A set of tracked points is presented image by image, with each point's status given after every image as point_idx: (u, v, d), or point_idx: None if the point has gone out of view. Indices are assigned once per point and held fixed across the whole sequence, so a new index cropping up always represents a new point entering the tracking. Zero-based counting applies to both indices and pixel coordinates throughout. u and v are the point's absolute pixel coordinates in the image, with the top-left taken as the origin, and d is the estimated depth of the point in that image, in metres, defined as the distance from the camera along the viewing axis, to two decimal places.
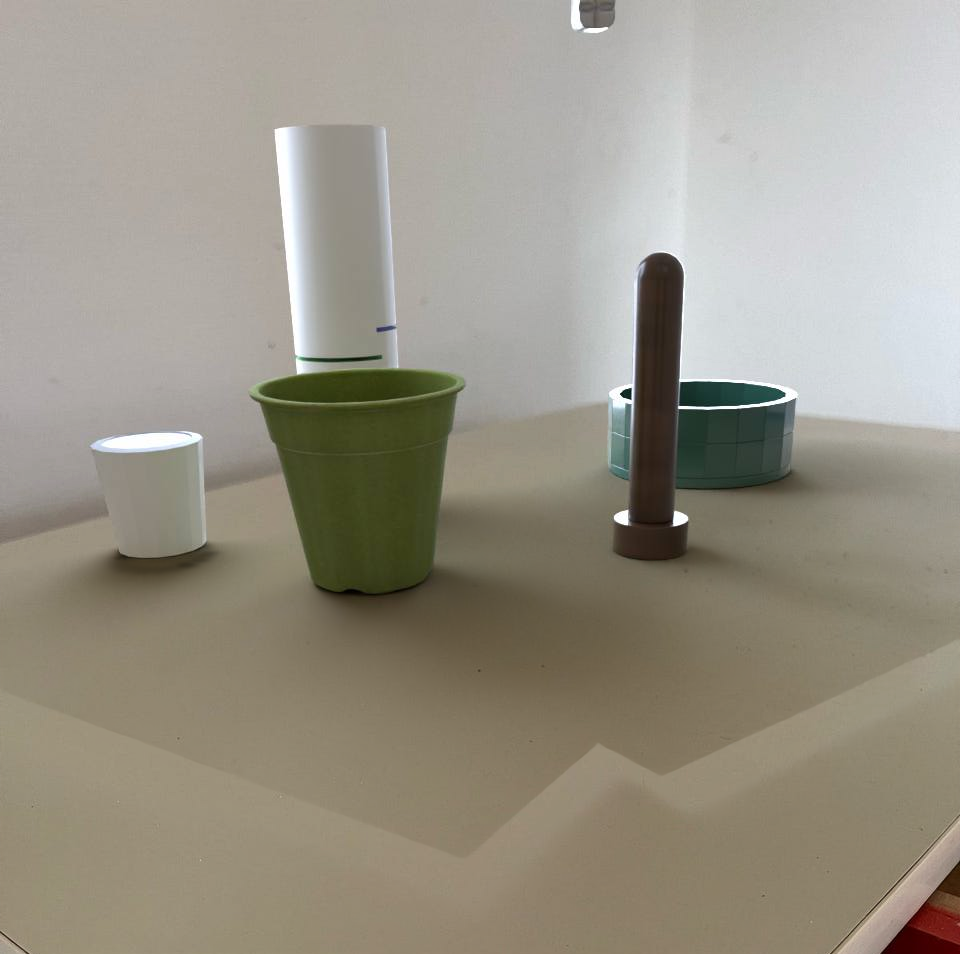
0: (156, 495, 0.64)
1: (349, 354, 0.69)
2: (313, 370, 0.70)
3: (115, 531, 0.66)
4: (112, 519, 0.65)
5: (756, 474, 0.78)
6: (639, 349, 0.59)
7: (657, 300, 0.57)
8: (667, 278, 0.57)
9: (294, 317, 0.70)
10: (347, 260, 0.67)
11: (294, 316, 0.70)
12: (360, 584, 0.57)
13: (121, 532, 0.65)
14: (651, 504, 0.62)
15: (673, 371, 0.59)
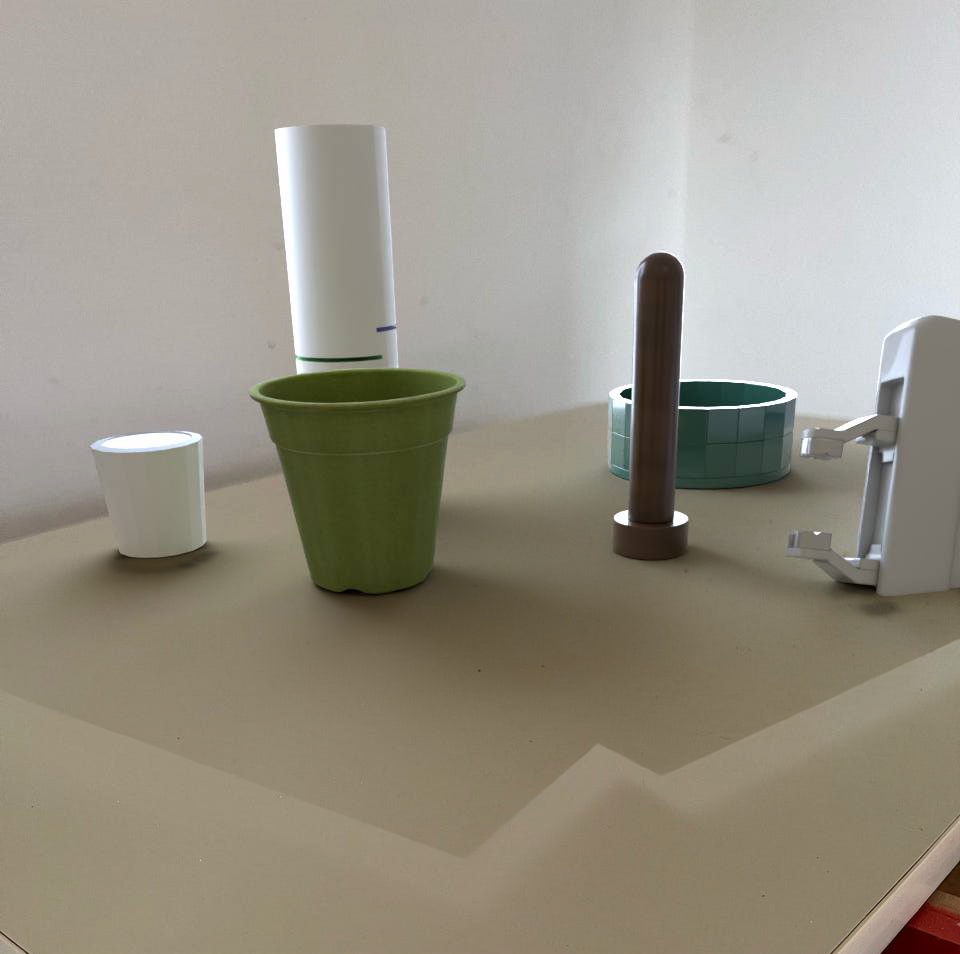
0: (156, 494, 0.64)
1: (349, 354, 0.69)
2: (313, 370, 0.70)
3: (115, 531, 0.66)
4: (112, 519, 0.65)
5: (756, 474, 0.78)
6: (639, 349, 0.59)
7: (657, 300, 0.57)
8: (667, 278, 0.57)
9: (294, 317, 0.70)
10: (347, 260, 0.67)
11: (294, 316, 0.70)
12: (360, 584, 0.57)
13: (121, 532, 0.65)
14: (651, 504, 0.62)
15: (673, 371, 0.59)
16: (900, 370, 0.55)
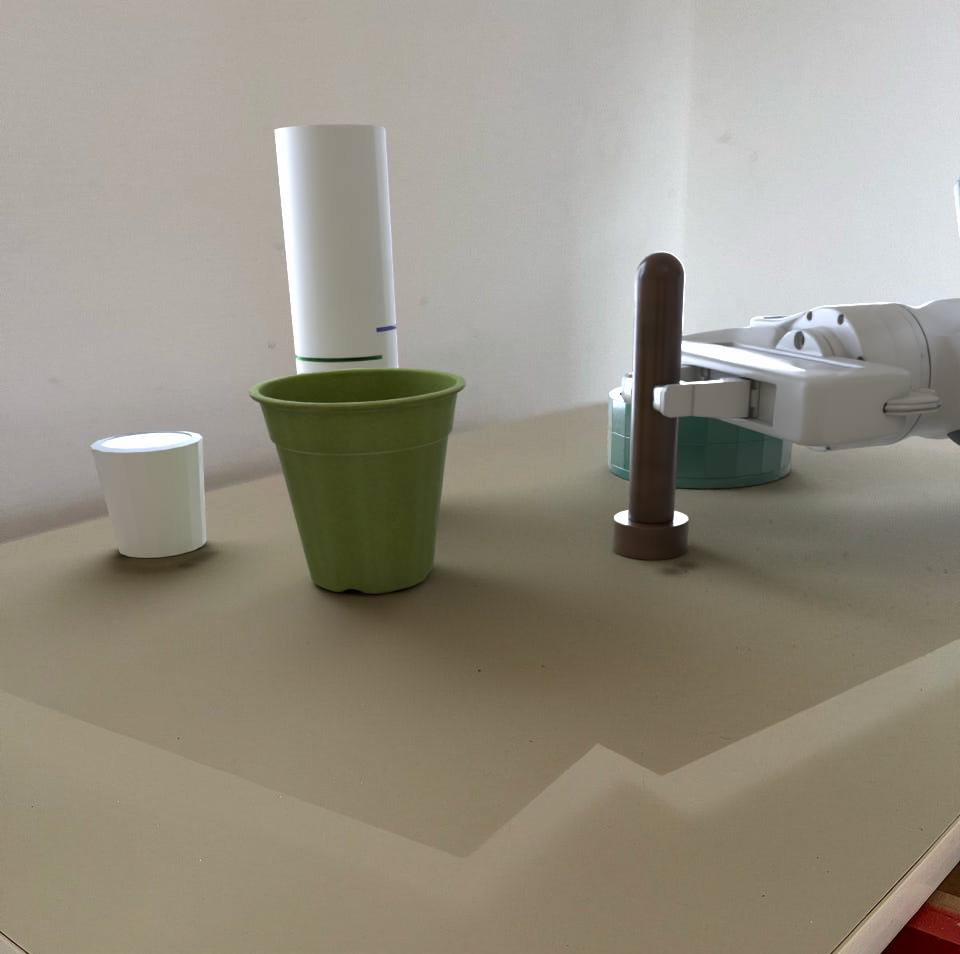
0: (156, 494, 0.64)
1: (349, 354, 0.69)
2: (313, 370, 0.70)
3: (115, 531, 0.66)
4: (112, 519, 0.65)
5: (756, 474, 0.78)
6: (639, 349, 0.59)
7: (657, 300, 0.57)
8: (667, 278, 0.57)
9: (294, 317, 0.70)
10: (347, 260, 0.67)
11: (294, 316, 0.70)
12: (360, 584, 0.57)
13: (121, 532, 0.65)
14: (652, 503, 0.62)
15: (673, 371, 0.59)
16: (777, 419, 0.56)
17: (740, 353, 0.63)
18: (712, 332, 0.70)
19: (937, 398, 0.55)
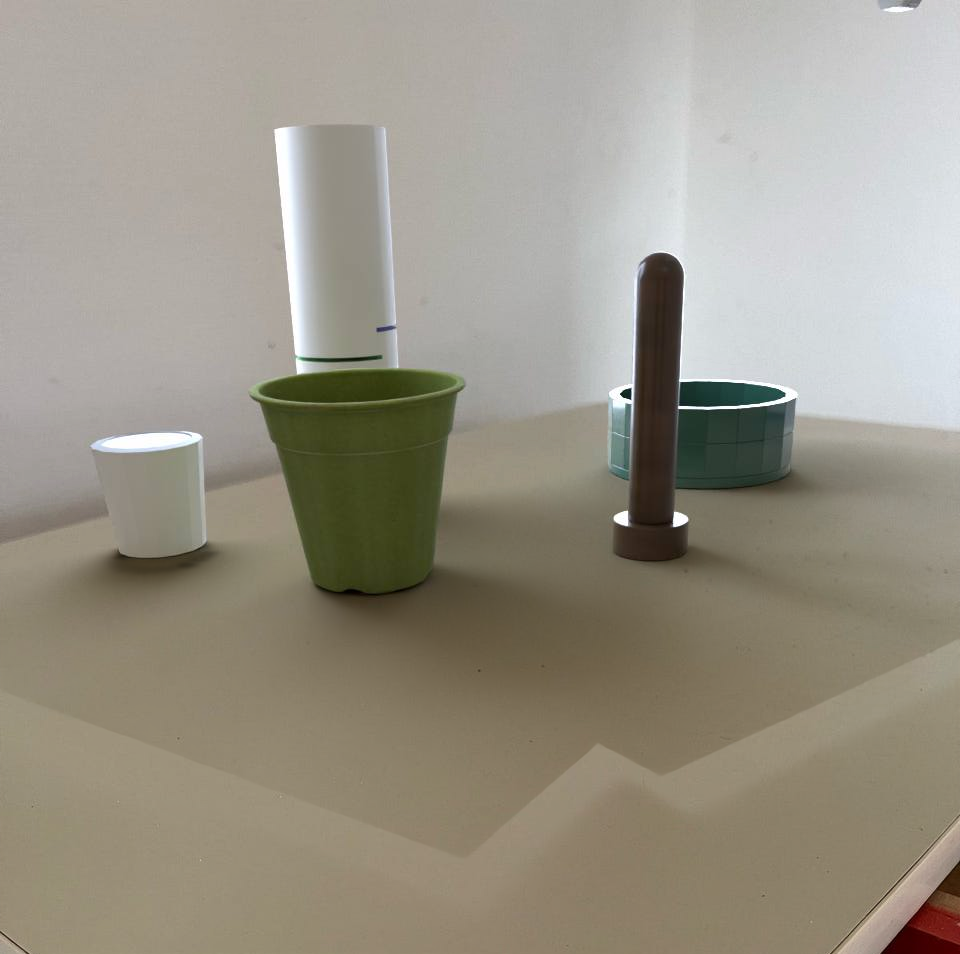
0: (156, 495, 0.64)
1: (349, 354, 0.69)
2: (313, 370, 0.70)
3: (115, 531, 0.66)
4: (112, 519, 0.65)
5: (756, 474, 0.78)
6: (639, 350, 0.59)
7: (657, 300, 0.57)
8: (667, 278, 0.57)
9: (294, 317, 0.70)
10: (347, 260, 0.67)
11: (294, 316, 0.70)
12: (360, 584, 0.57)
13: (121, 532, 0.65)
14: (651, 504, 0.62)
15: (673, 371, 0.59)
16: None
17: None
18: None
19: None
